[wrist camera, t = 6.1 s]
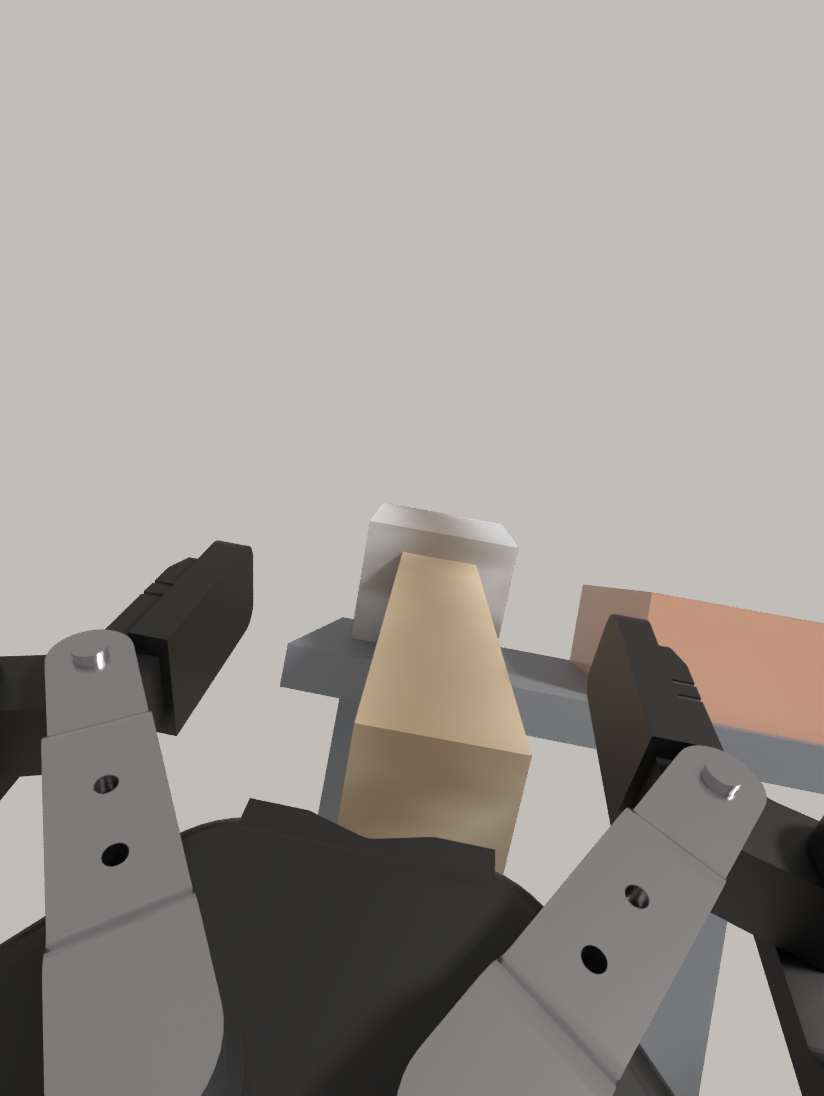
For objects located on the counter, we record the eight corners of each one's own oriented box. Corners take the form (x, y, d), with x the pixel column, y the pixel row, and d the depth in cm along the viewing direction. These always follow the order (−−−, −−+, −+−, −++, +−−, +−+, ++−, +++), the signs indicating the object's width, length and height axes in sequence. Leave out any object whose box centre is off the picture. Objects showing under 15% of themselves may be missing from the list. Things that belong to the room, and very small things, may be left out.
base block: (707, 687, 30) (720, 609, 30) (842, 748, 20) (861, 630, 20) (569, 661, 30) (583, 584, 30) (632, 707, 20) (652, 592, 20)
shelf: (612, 1343, 29) (722, 689, 30) (715, 1812, 18) (883, 758, 19) (227, 1243, 30) (342, 617, 31) (103, 1626, 19) (287, 643, 20)
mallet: (482, 618, 30) (501, 524, 29) (565, 968, 10) (635, 717, 9) (367, 597, 30) (383, 502, 29) (238, 907, 11) (273, 651, 10)
